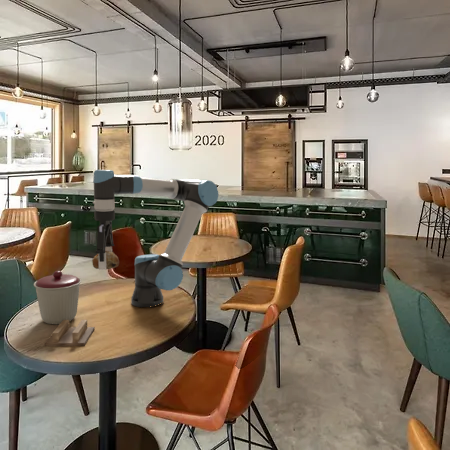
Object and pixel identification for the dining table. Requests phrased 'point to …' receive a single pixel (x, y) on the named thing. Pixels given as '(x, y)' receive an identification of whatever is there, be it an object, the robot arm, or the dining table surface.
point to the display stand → (70, 334)
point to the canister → (58, 297)
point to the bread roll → (107, 260)
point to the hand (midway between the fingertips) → (105, 265)
